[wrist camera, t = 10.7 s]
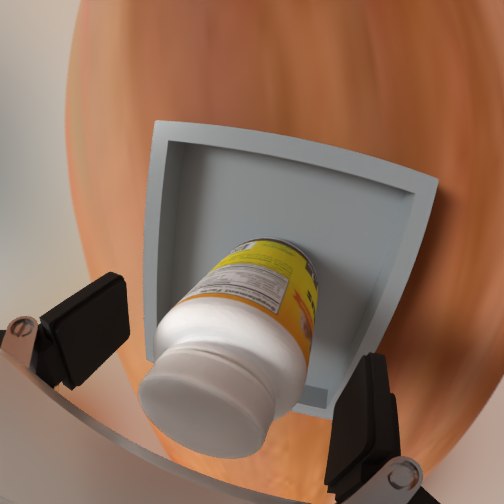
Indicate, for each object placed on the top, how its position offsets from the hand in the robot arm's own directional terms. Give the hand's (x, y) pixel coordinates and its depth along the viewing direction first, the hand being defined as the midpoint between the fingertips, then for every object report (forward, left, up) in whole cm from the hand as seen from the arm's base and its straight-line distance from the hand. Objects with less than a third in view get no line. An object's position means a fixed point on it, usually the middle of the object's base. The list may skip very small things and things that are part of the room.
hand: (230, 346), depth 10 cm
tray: (+1, 0, -7) cm, 7 cm away
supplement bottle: (0, 0, -7) cm, 7 cm away
